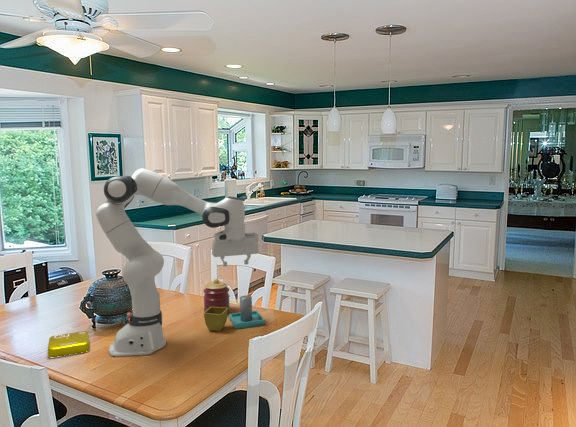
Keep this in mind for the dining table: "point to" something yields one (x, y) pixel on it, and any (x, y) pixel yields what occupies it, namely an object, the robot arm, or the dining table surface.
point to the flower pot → (215, 318)
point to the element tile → (68, 344)
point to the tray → (238, 324)
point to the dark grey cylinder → (246, 308)
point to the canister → (216, 295)
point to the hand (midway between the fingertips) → (235, 265)
